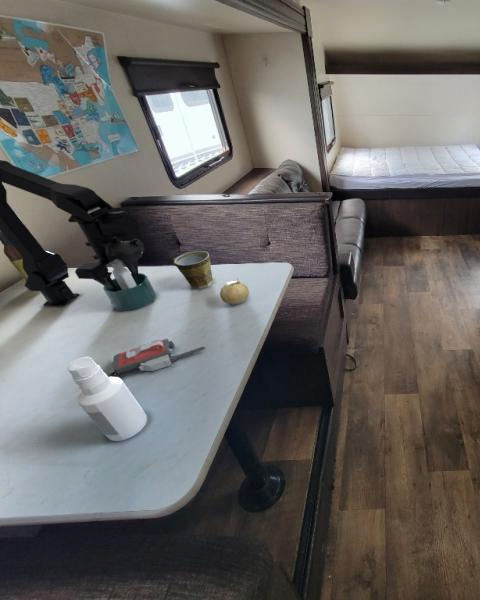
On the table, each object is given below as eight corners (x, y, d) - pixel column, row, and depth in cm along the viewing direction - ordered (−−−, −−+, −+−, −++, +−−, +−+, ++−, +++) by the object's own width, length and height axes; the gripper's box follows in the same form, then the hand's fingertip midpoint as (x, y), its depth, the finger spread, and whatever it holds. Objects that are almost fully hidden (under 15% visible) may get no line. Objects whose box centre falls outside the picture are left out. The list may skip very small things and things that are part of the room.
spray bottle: (120, 413, 71) (72, 351, 61) (154, 411, 71) (112, 348, 61) (99, 443, 65) (42, 379, 55) (136, 440, 66) (86, 376, 55)
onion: (234, 311, 101) (227, 291, 97) (218, 303, 104) (210, 283, 100) (256, 298, 106) (250, 278, 102) (240, 291, 110) (233, 272, 106)
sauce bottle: (59, 280, 117) (22, 226, 105) (40, 289, 112) (-2, 234, 100) (45, 278, 118) (6, 224, 107) (25, 287, 113) (-18, 232, 102)
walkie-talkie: (111, 387, 77) (207, 354, 85) (101, 374, 74) (201, 341, 83) (114, 363, 83) (203, 335, 92) (105, 350, 81) (197, 322, 89)
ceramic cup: (224, 277, 117) (215, 251, 111) (206, 293, 109) (195, 266, 103) (191, 274, 119) (180, 249, 113) (170, 290, 111) (158, 263, 105)
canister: (106, 310, 101) (93, 291, 98) (132, 291, 111) (122, 272, 107) (140, 312, 101) (129, 292, 97) (164, 292, 110) (155, 273, 106)
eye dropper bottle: (123, 299, 101) (103, 263, 94) (123, 290, 105) (104, 256, 98) (140, 294, 103) (121, 259, 96) (140, 286, 107) (122, 252, 100)
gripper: (100, 251, 85) (128, 302, 94) (150, 223, 100) (171, 269, 109) (59, 250, 86) (91, 301, 95) (115, 222, 101) (138, 268, 110)
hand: (126, 283), depth 102 cm, fingers closed on eye dropper bottle, 8 cm apart
